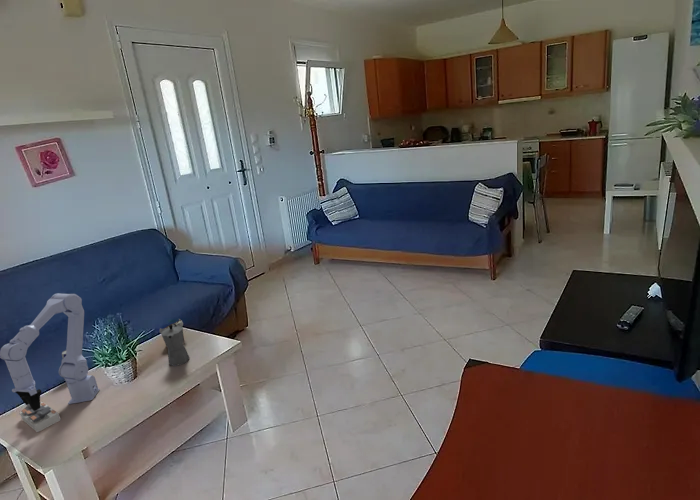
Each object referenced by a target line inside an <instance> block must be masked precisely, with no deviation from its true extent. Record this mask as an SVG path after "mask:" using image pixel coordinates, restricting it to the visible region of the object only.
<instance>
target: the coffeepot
mask: <svg viewBox="0 0 700 500" xmlns="http://www.w3.org/2000/svg"><path fill="white" fill-rule="evenodd" d="M171 324H172V325H170V324H169V325H168V326H169V329H166V330H164V331H163V332H162V333H160V334H161V337H162V339H163V341H164V344H165V346H166V348H167V357H168V358H167V359H168V364H169V365H170V366H174V367H176V366H180V365H183V364H185V363H187V362H188V361H189V360H190V358H191V357H190V355H189V353H188V351H187V349H186V346H185V345H184V342H185V338H184V339H183V335H184V329H182V328H183V327H182V328H181V327H177V325H176V324H173V323H171Z"/></svg>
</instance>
